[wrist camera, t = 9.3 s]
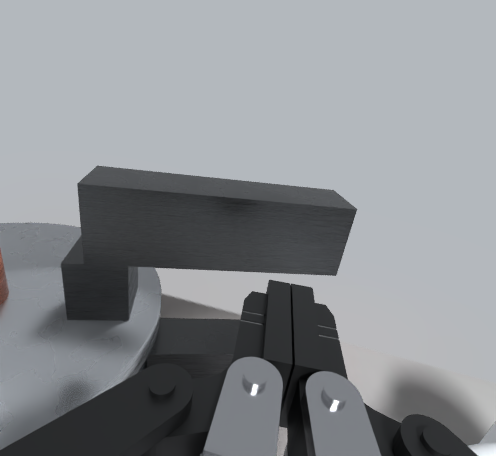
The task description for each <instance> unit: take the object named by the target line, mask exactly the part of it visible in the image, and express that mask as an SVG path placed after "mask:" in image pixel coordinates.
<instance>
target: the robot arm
mask: <svg viewBox="0 0 496 456" xmlns="http://www.w3.org/2000/svg"><path fill="white" fill-rule="evenodd" d="M279 426H280V427H285V428H287V432H288V442H287V445H286V448H285V451H284V456H478V455H477V454H476V453H474V452H473V451H472V450H471V449H470V448H469V447H468V446H467V445H466V444H464V443H463V442H462V441H461V440H460V439H459V438H458V437H457V436H456V435H454V434H453V433H452V432H451V431H450V430H449V429H448V428H446V427H445V426H444V425H442V424H441V423H439V422H438V421H436V420H434V419H432V418H430V417H427V416H424V415H418V414H416V415H409V416H407V417H406V418H405V419H404V420H403V421H402V423H399V422H397V421H395V420H393V419H391V418H389V417H387V416H385V415H383V414H381V413H379V412H377V411H375V410H373V409H372V408H370V407H369V406H367V405H366V404H365V403H364V402H363V399H362V397H361V395H360V393H359V391H358V390H357V388H356V387H355V386H354V385H353V384H352V383H351V382H350V381H349V380H348V378H347V374H346V369H345V365H344V360H343V356H342V351H341V346H340V342H339V340H338V333H337V330H336V324H335V320H334V316H333V315H332V313H331V312H330V310H329V309H328V308H327V306H326V305H322V304H317V303H314V295H313V289H312V288H311V287H306V286H300V285H295V284H291V285H290V284H289V283H284V282H279V281H273V280H269V283H268V287H267V292H266V294H264V293H258V292H253V291H252V292H251V293H250V294H249V295H248V296H247V297H246V298H245V300H244V305H243V310H242V315H241V320H240V325H239V330H238V335H237V340H236V346H235V351H234V356H233V359H232V361H231V363H230V365H229V366H228V367H227V368H226V369H225V370H224V371H222V372H221V373H219V374H217V375H214V376H210V377H204V378H193V379H192V378H191V376H190V375H189V373H188V372H187V371H186V370H185V369H183V368H182V367H180V366H178V365H175V364H169V363H161V364H156V365H153V366H150V367H148V368H146V369H144V370H142V371H141V372H139V373H137V374H135V375H133V376H132V377H130V378H128V379H126V380H124V381H123V382H121V383H119V384H117V385H116V386H114V387H112V388H110V389H108V390H107V391H105V392H103V393H101V394H99V395H98V396H96V397H94V398H92V399H91V400H89V401H87V402H85V403H83V404H82V405H80V406H78V407H76V408H74V409H73V410H71V411H69V412H67V413H66V414H64V415H62V416H60V417H58V418H57V419H55V420H53V421H51V422H49V423H48V424H46V425H44V426H42V427H41V428H39V429H37V430H35V431H33V432H32V433H30V434H28V435H26V436H24V437H23V438H21V439H19V440H17V441H15V442H14V443H12V444H10V445H8V446H7V447H5V448H3V449H1V450H0V456H276V453H277V442H278V432H279Z"/></svg>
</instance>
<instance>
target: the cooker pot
mask: <svg viewBox="0 0 496 456" xmlns="http://www.w3.org/2000/svg"><path fill="white" fill-rule="evenodd" d="M239 325H240V320H230V319H180V318H160V325H159V329H158V333H157V337H156V340H155V342H154V345H153V347H152V349H151V352H150V354H149V356H148V358H147V359H146V361H145V363H144V364H143V366H142V367H141V369H140V371H139V372H141V371H142V370H144V369H146V368H148V367H150V366H153V365H156V364H161V363H169V364H175V365H178V366H180V367H182V368H183V369H185V370H186V371H187V372H188V373H189V375H190V376H191V378H192V379H193V378H204V377H210V376H214V375H217V374H219V373H221V372H222V371H224V370H225V369H226V368H227V367H228V366H229V365H230V363H231V361H232V359H233V356H234V351H235V346H236V340H237V335H238V330H239ZM139 372H138V373H139Z"/></svg>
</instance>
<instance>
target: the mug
mask: <svg viewBox="0 0 496 456" xmlns="http://www.w3.org/2000/svg"><path fill="white" fill-rule="evenodd" d="M468 447H469V448H470V449H471V450H472V451H473V452H474V453H476V454H477V455H478V456H496V421H495V423H494V424H493V425H492V427H491V428H490V429H489V431H488V432H487V433H486V435H485V436H484V437H483V439H482V440H481V442H480V443H479V444H473V445H468Z"/></svg>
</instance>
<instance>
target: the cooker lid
mask: <svg viewBox="0 0 496 456" xmlns="http://www.w3.org/2000/svg"><path fill="white" fill-rule="evenodd" d="M78 196H79V209H80V222H81V227H75V226H68V225H59V224H48V223H4V224H3V223H2V224H0V450H1V449H3V448H5V447H7V446H8V445H10V444H12V443H14V442H15V441H17V440H19V439H21V438H23V437H24V436H26V435H28V434H30V433H32V432H33V431H35V430H37V429H39V428H41V427H42V426H44V425H46V424H48V423H49V422H51V421H53V420H55V419H57V418H58V417H60V416H62V415H64V414H66V413H67V412H69V411H71V410H73V409H74V408H76V407H78V406H80V405H82V404H83V403H85V402H87V401H89V400H91V399H92V398H94V397H96V396H98V395H99V394H101V393H103V392H105V391H107V390H108V389H110V388H112V387H114V386H116V385H117V384H119V383H121V382H123V381H124V380H126V379H128V378H130V377H132V376H133V375H135V374H137V373H138V372H139V371H140V369H141V367H142V366H143V364H144V363H145V361H146V359H147V358H148V356H149V354H150V352H151V349H152V347H153V345H154V342H155V340H156V337H157V333H158V329H159V325H160V310H161V285H160V280H159V277H158V274H157V272H156V270H155V268H176V269H198V270H221V271H244V272H265V273H289V274H311V275H312V274H313V275H333V276H336V274H337V271H338V268H339V265H340V262H341V258H342V255H343V252H344V249H345V246H346V242H347V240H348V236H349V233H350V230H351V227H352V224H353V220H354V217H355V214H356V211H357V209H356V208H355V207H354V206H352V205H351V204H350V203H349V202H347V201H346V200H345V199H344V198H343V197H341V196H340V195H339V194H337V193H336V192H335V191H334V190H325V189H317V188H307V187H296V186H288V185H278V184H268V183H259V182H249V181H238V180H230V179H220V178H210V177H200V176H191V175H181V174H171V173H162V172H152V171H143V170H133V169H123V168H113V167H104V166H97V167H96V168H94V169H93V170H92V171H91V172H90V173H89V174H88V175H87V176H85V177H84V178H83V179H82V180H81V181H80V182H79V183H78Z"/></svg>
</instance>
